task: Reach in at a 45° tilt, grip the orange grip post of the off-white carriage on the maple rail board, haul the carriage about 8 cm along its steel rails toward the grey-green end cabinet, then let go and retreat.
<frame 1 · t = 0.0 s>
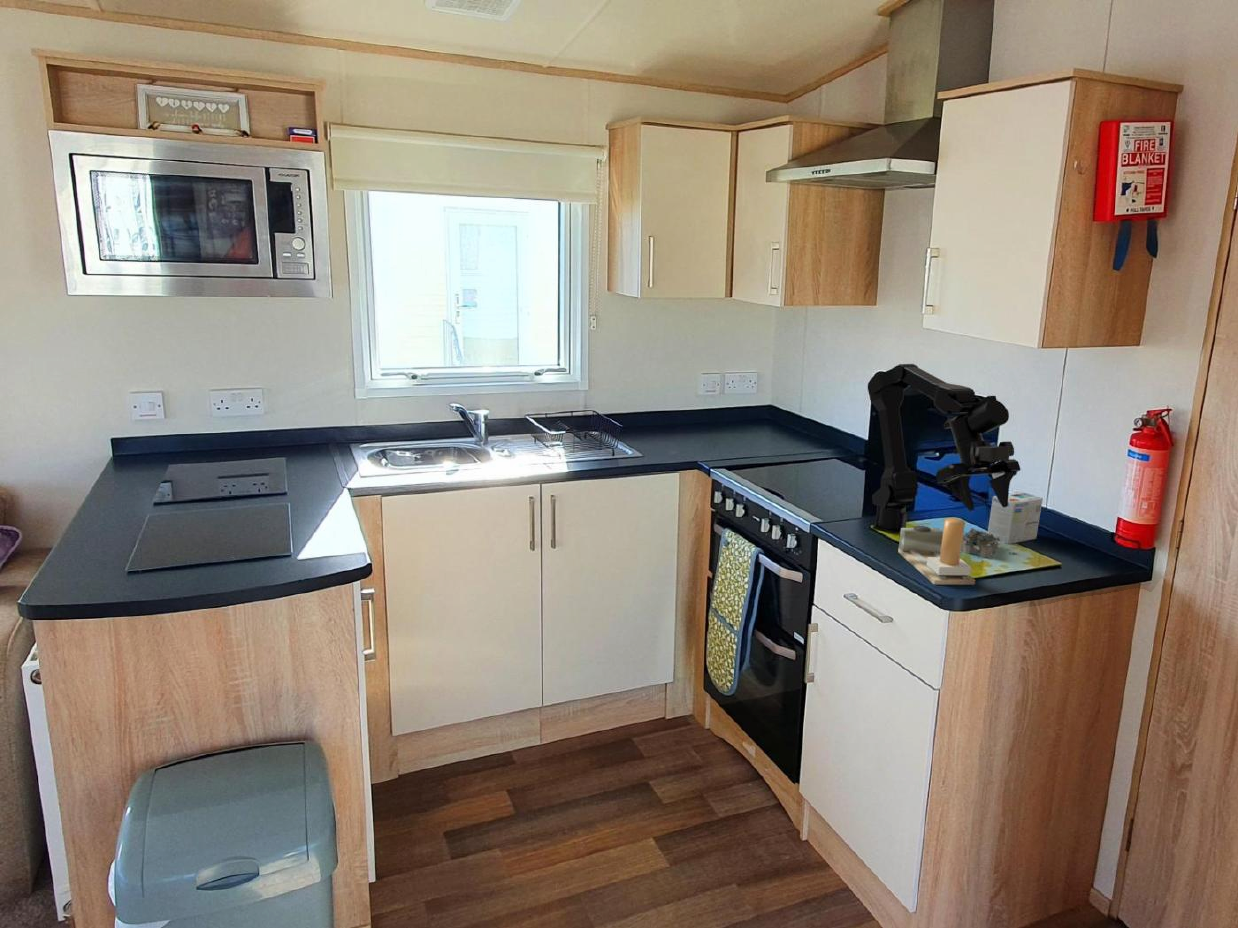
hand: (988, 508, 186), 15 cm above the counter, tool tilted 35°, fingers open, 9 cm apart
light bulb box: (1011, 538, 214), on the counter
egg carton: (978, 551, 205), on the counter
rail board: (934, 567, 192), on the counter
carriage: (951, 545, 184), point 7 cm above the counter, slide at 0.0 cm
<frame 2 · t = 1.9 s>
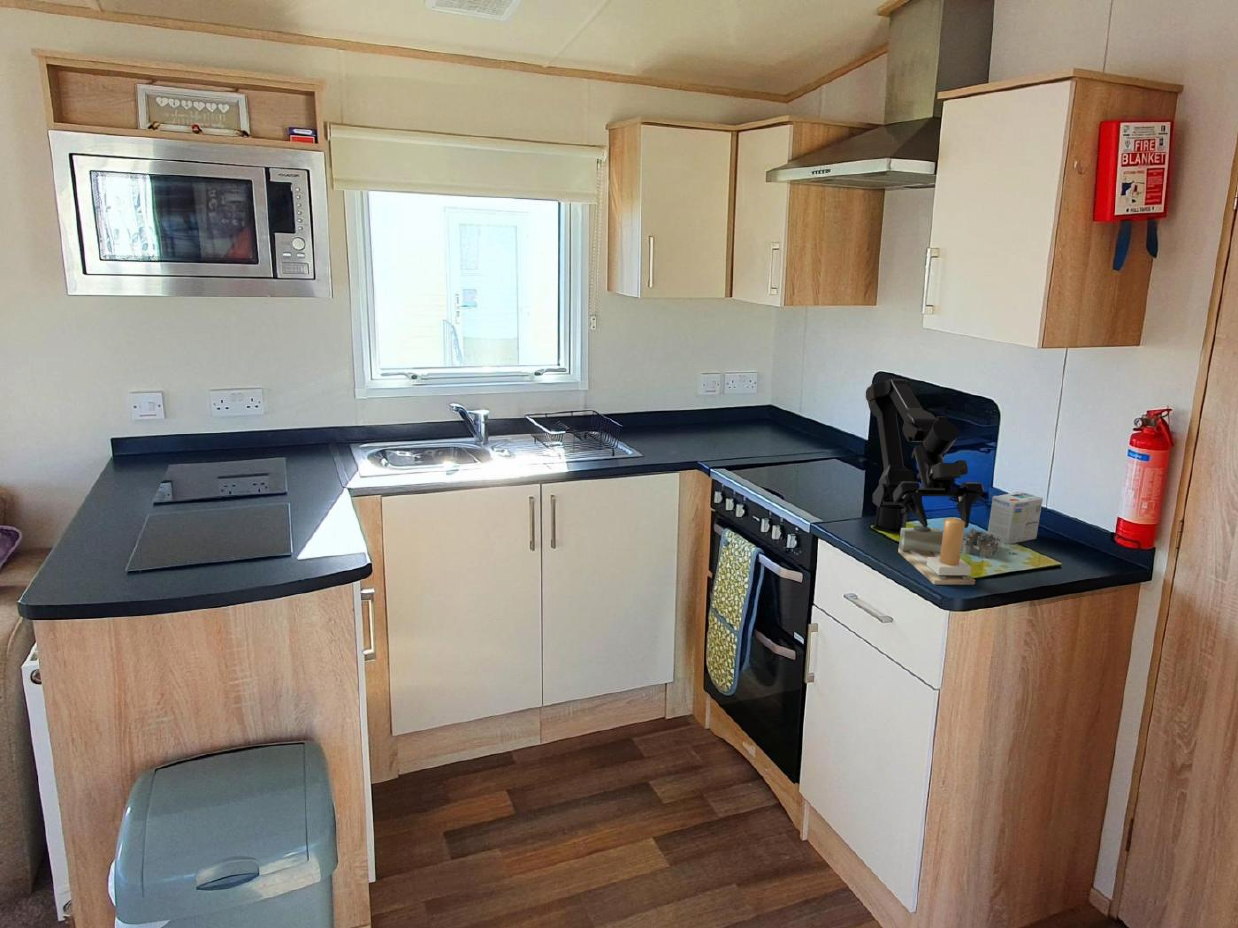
hand: (946, 526, 187), 11 cm above the counter, tool tilted 45°, fingers open, 9 cm apart
nothing on the counter moved.
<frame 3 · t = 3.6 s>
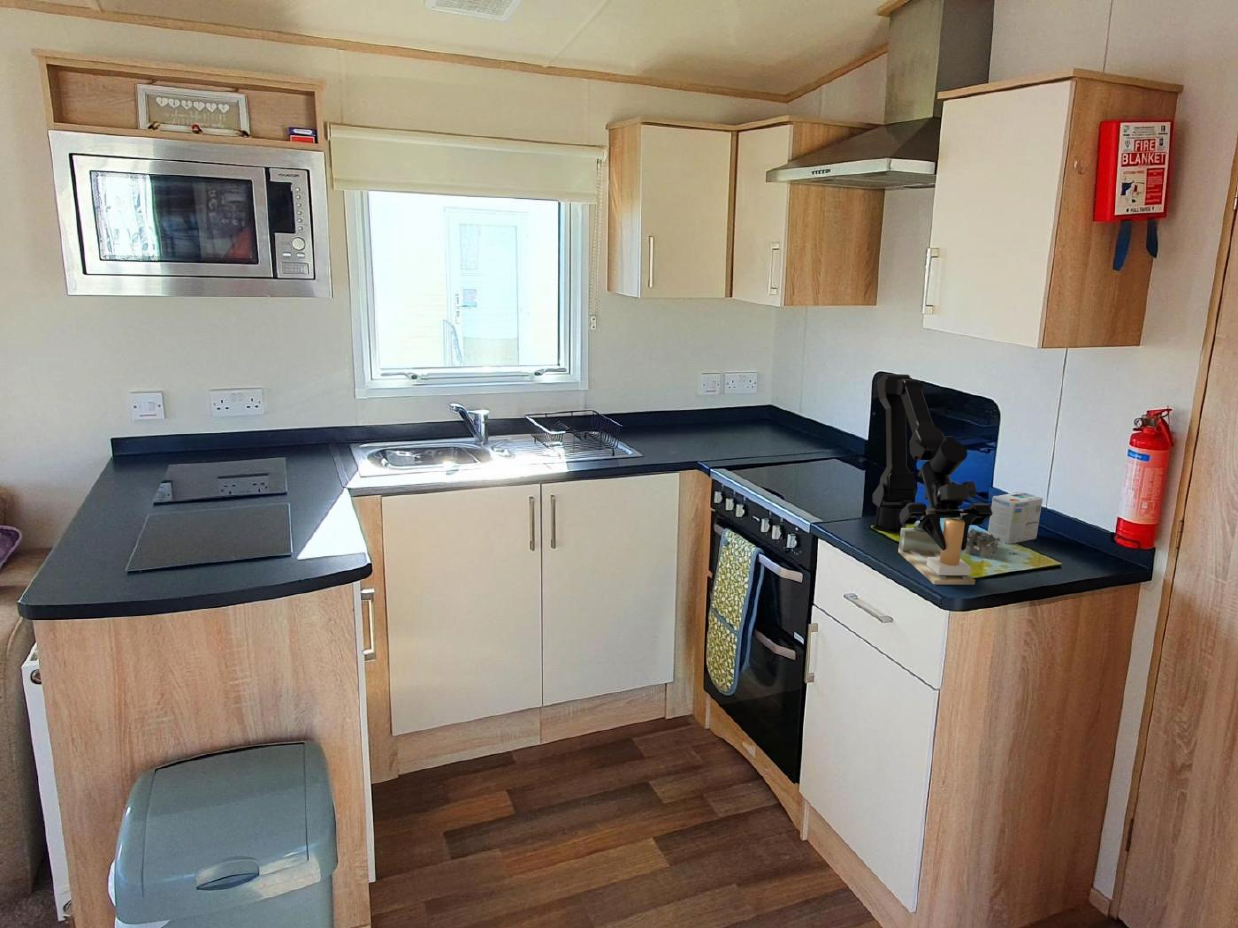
hand: (954, 549, 183), 7 cm above the counter, tool tilted 45°, fingers closed on carriage, 4 cm apart
carriage: (951, 545, 184), point 7 cm above the counter, slide at 0.0 cm, touching gripper
everything else where it was.
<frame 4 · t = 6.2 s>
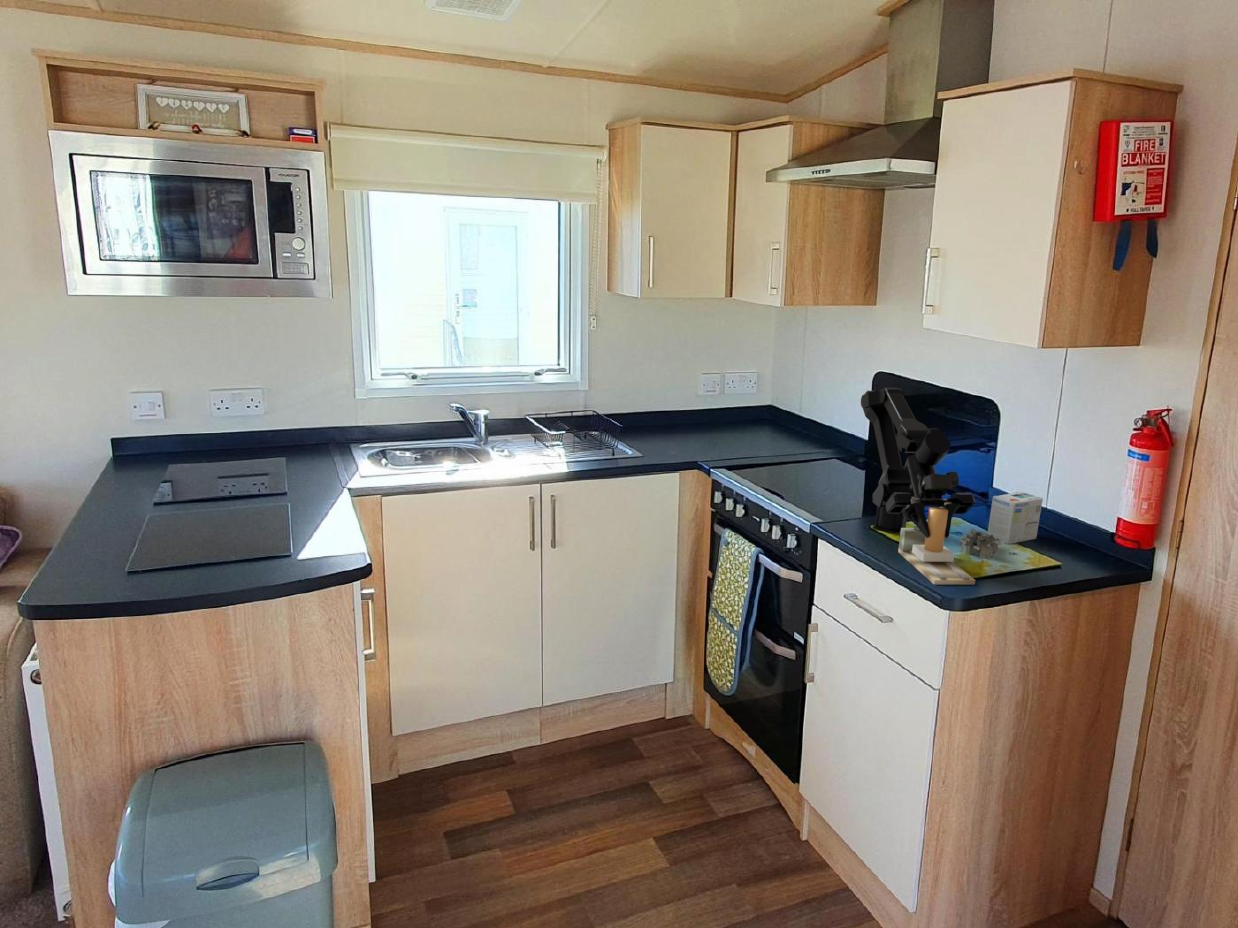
hand: (937, 537, 191), 7 cm above the counter, tool tilted 45°, fingers closed on carriage, 4 cm apart
carriage: (935, 533, 192), point 7 cm above the counter, slide at 8.0 cm, touching gripper
everything else where it was.
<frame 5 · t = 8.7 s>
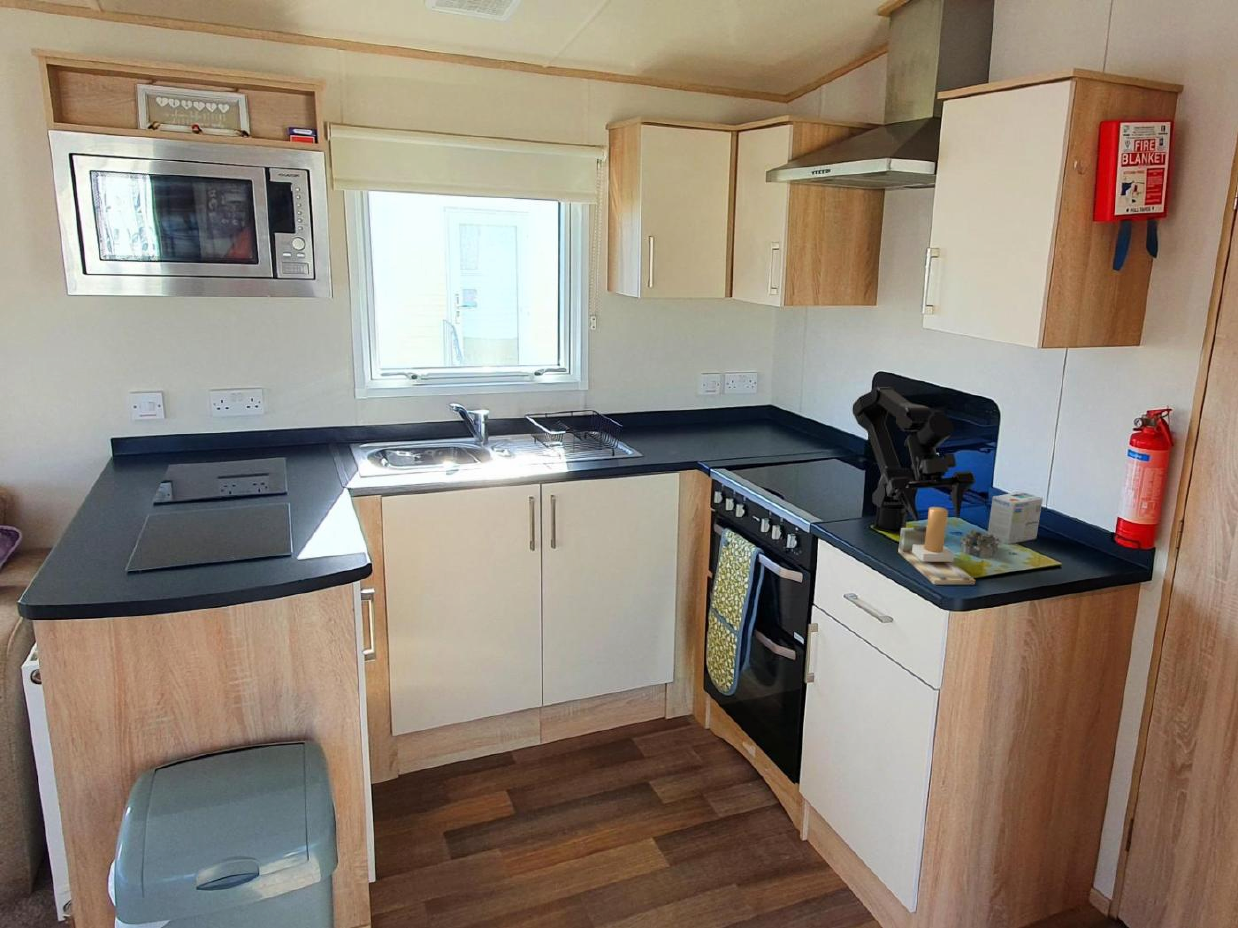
hand: (937, 518, 194), 10 cm above the counter, tool tilted 40°, fingers open, 9 cm apart
carriage: (935, 533, 192), point 7 cm above the counter, slide at 8.0 cm
everything else where it was.
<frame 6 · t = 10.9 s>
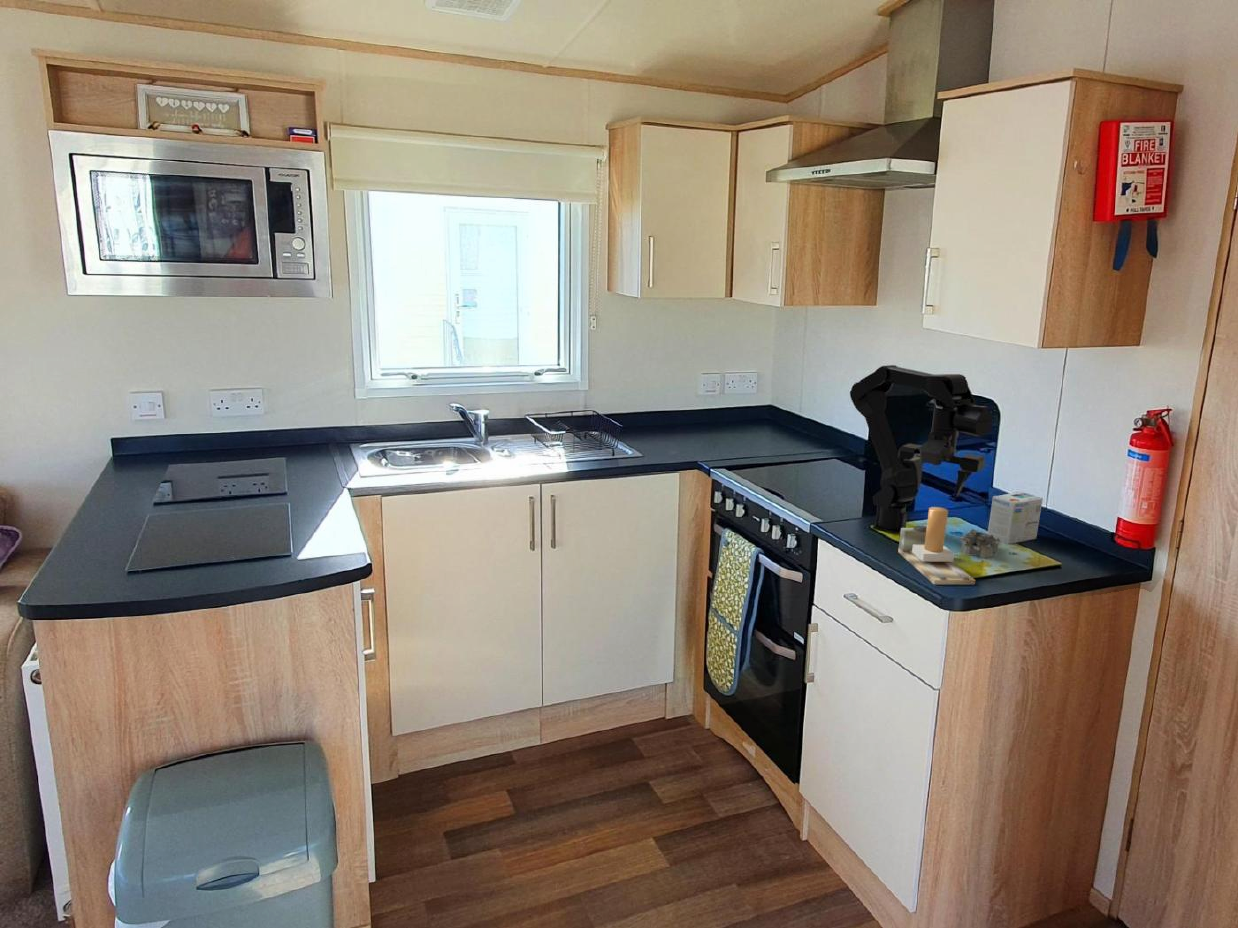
hand: (936, 492, 204), 13 cm above the counter, tool pointing down, fingers open, 9 cm apart
nothing on the counter moved.
at the end: carriage slide at 8.0 cm; the gripper is holding nothing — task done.
